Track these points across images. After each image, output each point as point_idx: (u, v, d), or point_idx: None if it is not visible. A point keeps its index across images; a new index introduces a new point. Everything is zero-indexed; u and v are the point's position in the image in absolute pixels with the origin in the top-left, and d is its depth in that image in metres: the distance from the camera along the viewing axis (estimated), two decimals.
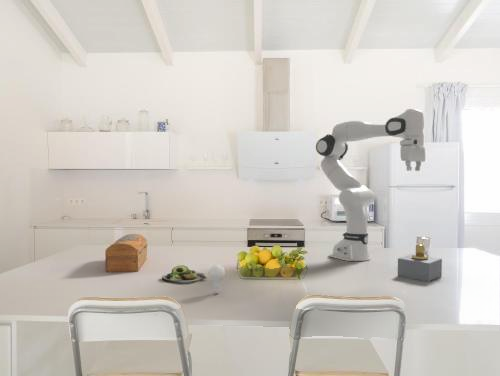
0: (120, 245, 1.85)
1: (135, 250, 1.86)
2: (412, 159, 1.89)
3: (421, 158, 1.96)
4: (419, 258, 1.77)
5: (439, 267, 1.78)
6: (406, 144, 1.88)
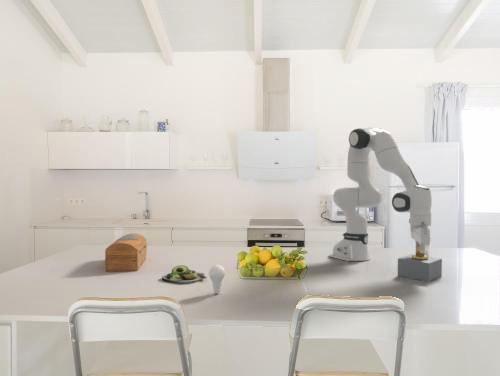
0: (120, 245, 1.86)
1: (135, 249, 1.87)
2: (413, 238, 1.85)
3: (418, 239, 1.75)
4: (419, 258, 1.77)
5: (439, 267, 1.78)
6: None
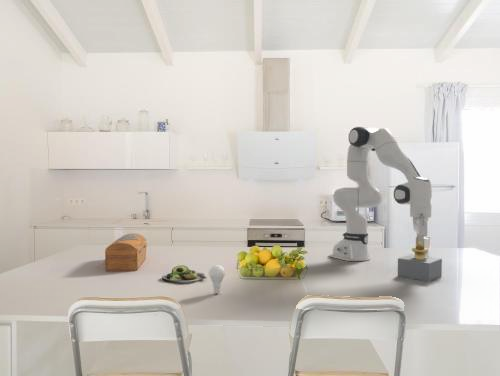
0: (120, 244, 1.86)
1: (135, 249, 1.87)
2: (414, 230, 1.85)
3: (417, 231, 1.75)
4: (419, 251, 1.76)
5: (439, 267, 1.78)
6: None
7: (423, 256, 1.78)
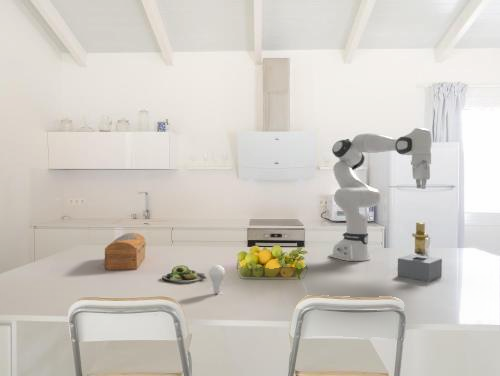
0: (119, 244, 1.88)
1: (134, 249, 1.89)
2: (415, 178, 2.03)
3: (419, 176, 1.93)
4: (419, 236, 1.76)
5: (439, 267, 1.78)
6: None
7: (423, 241, 1.77)
